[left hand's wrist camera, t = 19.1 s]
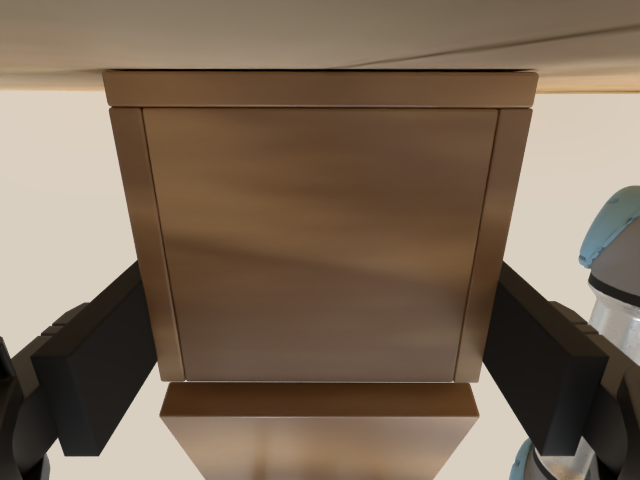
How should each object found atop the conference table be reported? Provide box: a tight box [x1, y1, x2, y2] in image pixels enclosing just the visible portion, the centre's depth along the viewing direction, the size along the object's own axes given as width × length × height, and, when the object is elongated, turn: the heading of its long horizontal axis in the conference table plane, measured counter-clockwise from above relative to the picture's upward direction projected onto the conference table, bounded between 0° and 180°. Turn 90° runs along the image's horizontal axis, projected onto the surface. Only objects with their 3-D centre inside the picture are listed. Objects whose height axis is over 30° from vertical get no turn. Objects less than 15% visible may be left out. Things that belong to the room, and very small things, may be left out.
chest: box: [102, 71, 539, 383], centre depth 16 cm, size 14×10×9 cm
